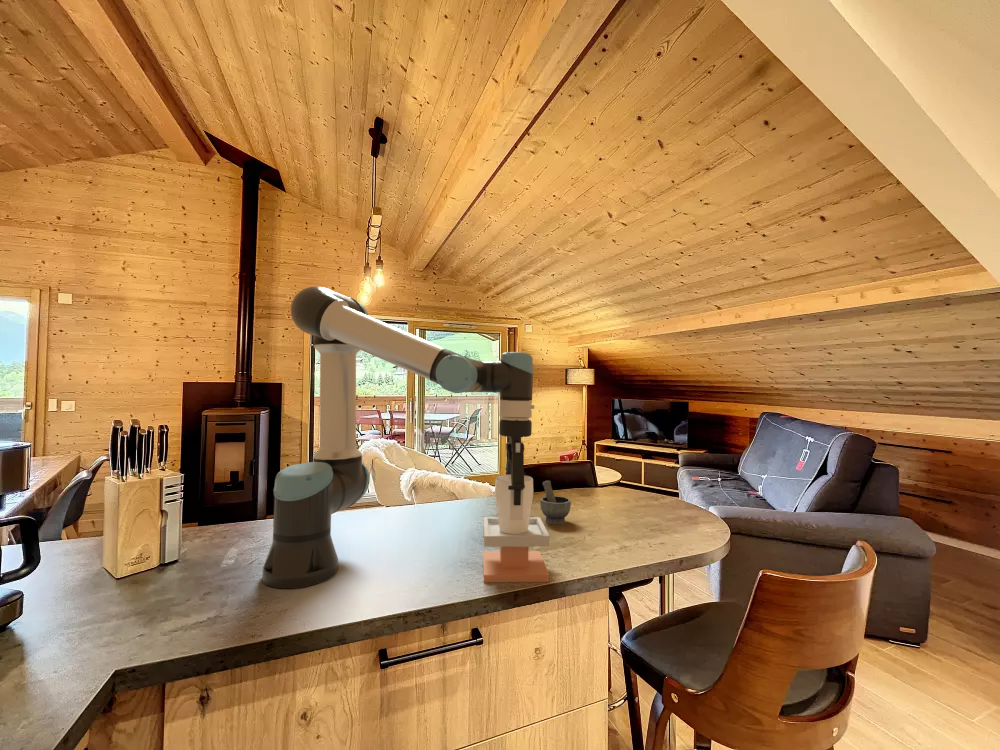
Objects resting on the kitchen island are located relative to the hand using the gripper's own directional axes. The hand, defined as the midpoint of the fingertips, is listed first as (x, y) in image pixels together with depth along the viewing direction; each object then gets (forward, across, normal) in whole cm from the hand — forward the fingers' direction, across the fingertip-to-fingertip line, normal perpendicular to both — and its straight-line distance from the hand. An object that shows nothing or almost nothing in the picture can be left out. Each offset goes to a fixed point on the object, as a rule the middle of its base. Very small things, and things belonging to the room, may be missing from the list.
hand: (513, 511), depth 102 cm
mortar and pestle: (+13, +37, -16) cm, 43 cm away
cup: (+5, +1, 0) cm, 5 cm away
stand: (+13, 0, 0) cm, 13 cm away
